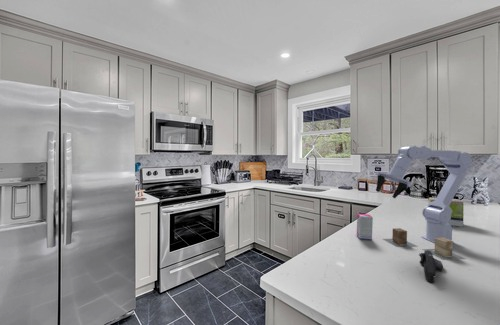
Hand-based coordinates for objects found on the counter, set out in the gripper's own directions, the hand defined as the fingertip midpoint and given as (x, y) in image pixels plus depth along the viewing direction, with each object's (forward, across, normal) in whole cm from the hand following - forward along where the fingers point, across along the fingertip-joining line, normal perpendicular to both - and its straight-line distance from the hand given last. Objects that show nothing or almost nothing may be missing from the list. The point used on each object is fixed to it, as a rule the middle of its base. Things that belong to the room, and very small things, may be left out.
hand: (385, 194), depth 105 cm
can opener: (+22, +28, -7) cm, 36 cm away
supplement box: (+23, -2, +9) cm, 25 cm away
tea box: (-10, +12, +66) cm, 68 cm away
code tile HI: (+12, +26, +13) cm, 31 cm away
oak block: (+12, +26, +13) cm, 31 cm away
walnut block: (+16, +10, +14) cm, 24 cm away
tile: (+16, +10, +14) cm, 24 cm away
